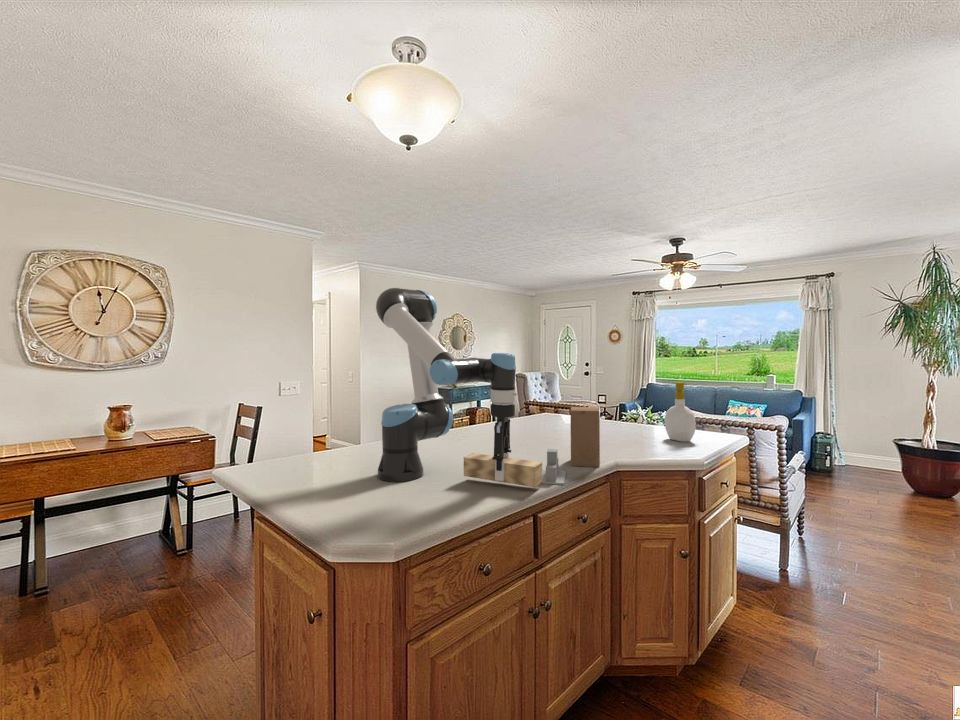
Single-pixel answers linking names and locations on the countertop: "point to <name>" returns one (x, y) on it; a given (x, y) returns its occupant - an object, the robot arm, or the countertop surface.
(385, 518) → the countertop surface
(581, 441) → the wooden block
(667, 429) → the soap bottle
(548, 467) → the bracket
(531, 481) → the beam
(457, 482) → the countertop surface
